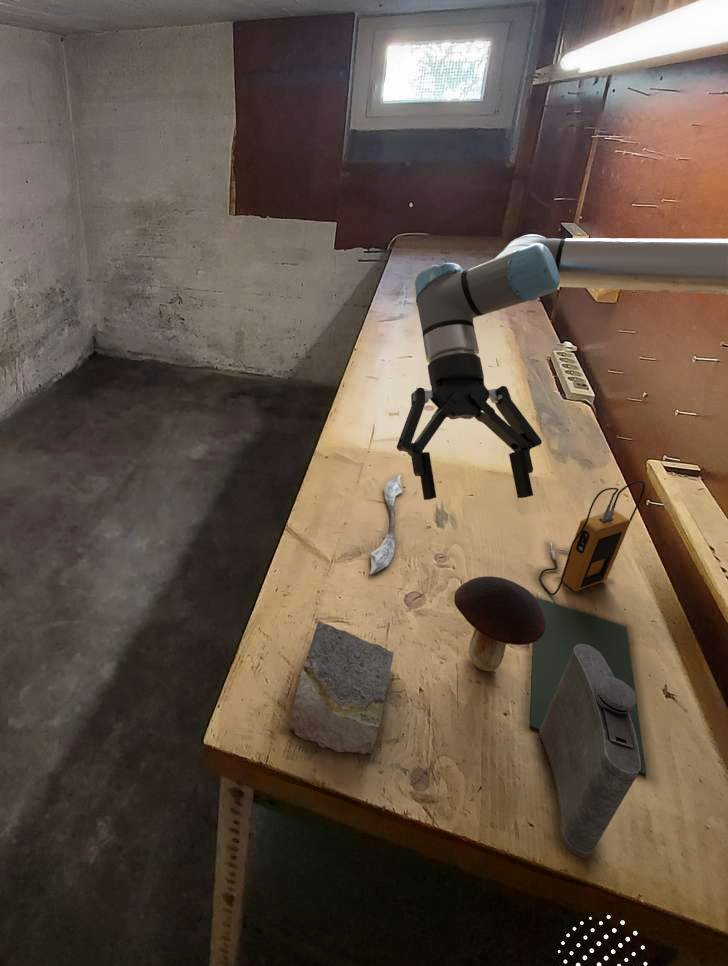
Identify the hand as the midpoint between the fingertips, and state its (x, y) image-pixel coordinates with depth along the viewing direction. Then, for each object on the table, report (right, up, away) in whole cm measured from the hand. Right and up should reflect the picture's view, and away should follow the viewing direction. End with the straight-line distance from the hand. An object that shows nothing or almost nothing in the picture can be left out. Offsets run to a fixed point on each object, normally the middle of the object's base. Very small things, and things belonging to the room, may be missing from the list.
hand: (477, 498), depth 80 cm
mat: (+14, -24, -2) cm, 28 cm away
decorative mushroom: (+1, -24, 0) cm, 24 cm away
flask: (+3, -31, -15) cm, 34 cm away
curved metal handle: (-3, -10, +28) cm, 30 cm away
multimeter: (+23, -15, +16) cm, 32 cm away
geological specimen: (-21, -27, -4) cm, 34 cm away
